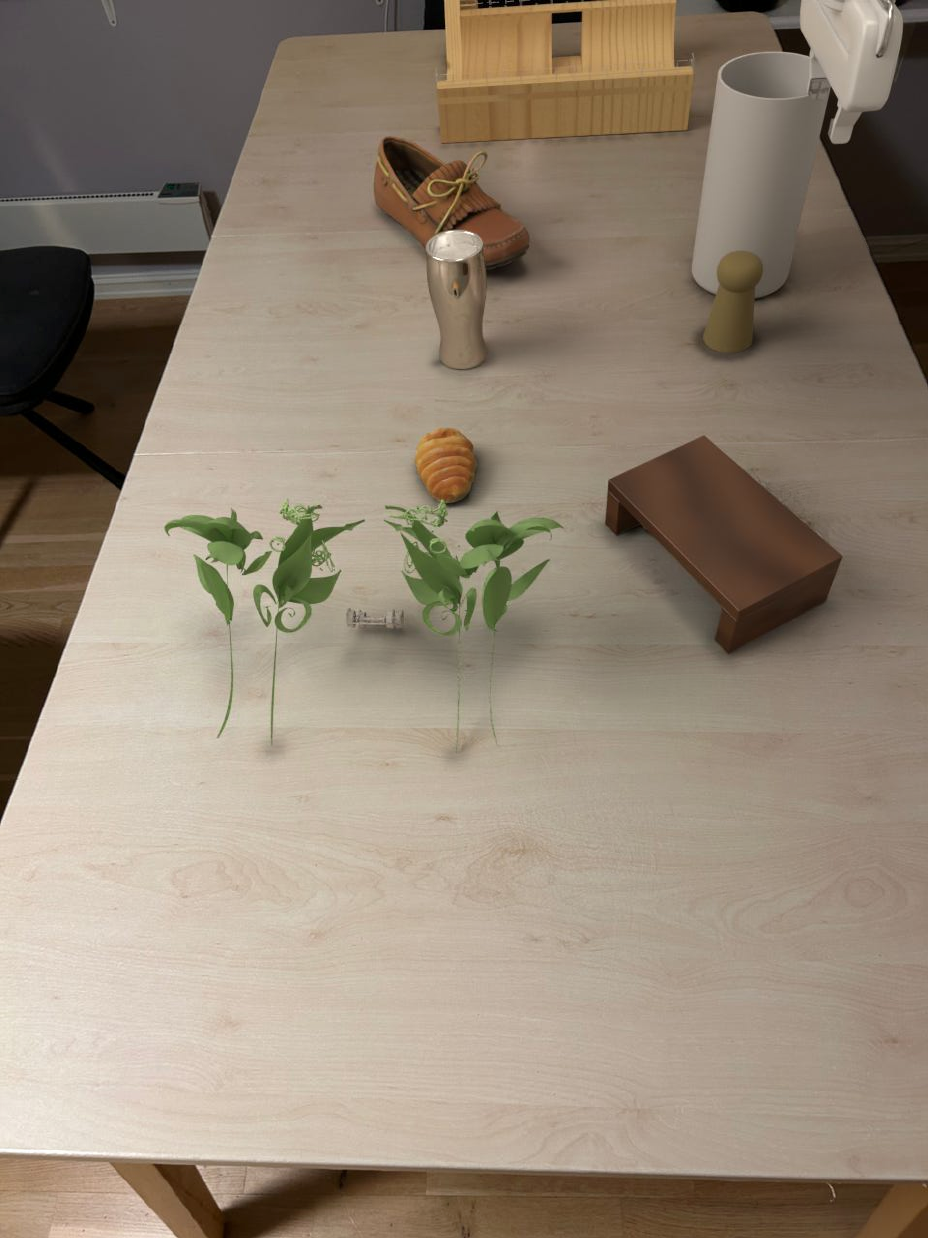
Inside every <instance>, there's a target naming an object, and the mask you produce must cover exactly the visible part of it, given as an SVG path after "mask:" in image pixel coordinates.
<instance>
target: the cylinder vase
mask: <svg viewBox="0 0 928 1238" xmlns="http://www.w3.org/2000/svg"><path fill="white" fill-rule="evenodd" d="M809 69H810V55H806V54H805V55H804V54H800V53H795V52H788V51H787V52H786V51H759V52H753V53H748V54H742V55H739V56H737V57H734V58H731V59H730V60H728V61H727V62H725V63H724V64H722V66H720V68H719V69H718V72H717V77H716V86H715V93H714V101H713V107H712V108H713V109H712V114H711V122H710V129H709V137H708V144H707V145H708V146H707V153H706V157H705V158H706V159H705V166H704V174H703V180H702V189H701V196H700V203H699V210H698V217H697V225H696V232H695V239H694V247H693V254H692V261H691V274H692V277H693V279H694V281H695V282H696V284H697V285H699V287H701V289H703V290H705V291H706V292H708V293H710V294H712V295H714V296H716V293H717V290H718V287H719V284H720V283H719V282H718V279H717V267H718V265H719V262H720V260H721V259H722V258H723V257H724V256H725V255H726V254H728V253H730V252H734V251H748V252H751V253H754V254H755V255H757V256H758V257H759V258H760V260H761V262H762V265H763V273H762V277H761V279H760V281H759V283H758V284H757V285H756V286H755V299H759V298H764V297H766V296H769V295H771V294H773V293H775V292H776V291H778V290H779V289H780V288H781V287H782V286H783V285H784V284H785V283H786V281H787V279H788V277H789V272H790V268H791V263H792V259H793V255H794V251H795V247H796V241H797V238H798V233H799V228H800V224H801V220H802V215H803V211H804V206H805V203H806V199H807V194H808V189H809V185H810V180H811V175H812V171H813V167H814V163H815V158H816V154H817V149H818V146H819V141H820V137H821V131H822V128H823V124H824V118H825V114H826V110H827V105H828V102H829V96H830V92H831V88H832V87H831V85H830V86H829V89H828V94H827V97H826V98H825V99H824V100H811V99H810V97H809V95H808V94H807V87H808V82H809V77H810V76H809Z"/></svg>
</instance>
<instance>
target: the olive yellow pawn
mask: <svg viewBox="0 0 928 1238" xmlns="http://www.w3.org/2000/svg"><path fill="white" fill-rule="evenodd" d="M762 273H763V265H762V262H761V260H760V258H759V257H758V256H757V255H755V254H754V253H751V252H748V251H734V252H730V253H728V254H726V255H725V256H724V257H723V258H722V259H721V260H720V262H719V265H718V267H717V279H718V282H719V283H720V284H719V287H718V290H717V293H716V295H714V296H715V297H714V300H713V303H712V306H711V310H710V313H709V315H708V318H707V322H706V326H705V328H704V331H703V335H702V341H703V342H704V345H706V347H708V348H710V349H711V350H713V351H716V352H718V353H724V354H736V353H740V352H743V351H746V350H747V349H748V348H749V347H750V346H751V345H752V343H753V340H754V339H753V337H754V321H755V319H754V318H755V299H756V298H755V286H756V285H757V284H758V283H759V281H760V279H761V277H762Z"/></svg>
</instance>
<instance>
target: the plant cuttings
mask: <svg viewBox="0 0 928 1238" xmlns="http://www.w3.org/2000/svg"><path fill="white" fill-rule="evenodd" d="M415 507H416V509H414V508H409V509H405V508H403V507H400V506H395V505H386V504H385V505H384V508H385V510H395V511H400V512H403V513H402V514H399V515H398V514H391V513H388V514H387V517H389V518H394V519H398V520H399V519H400V520H405V523H406V525H407V526H403V525H402V524H400V523H395V522H392V521H389V520H386V519H383V522H384V523H386V524H388V525H390V526H391V527H392V528H394V529H395V531H396V532H400V535H401V538H402V540H403V541H402V542H403V543H404V545H405V548H406V554H405V557H404V560H403V568H404V571H405V572H404V571H403V570H401V571H400V572H401V573H402V575H403V578H404V579H405V581H406V583H407V585H408V587H409V589H410V591H411V593H412V595H413V597H414V598H415V599H416V601H417V602H418V603H420V604H422V605H424V607H423V608H422V610H421V619H422V621H423V623H424V624H425V626H426V627H427V628H428V630H430V631H431V632H433V633H434V634H436V635H438V636H441V637H450V636H453V635H456V634H457V633H458V683H457V684H458V687H457V688H458V689H457V693H458V694H457V727H456V746H455V747H456V748H455V753H457V751H458V741H459V730H460V729H459V727H460V697H461V695H460V689H461V687H460V686H461V685H460V684H461V629H462V627H464V629H465V631H466V632H467V631H468V630H469V627H470V624H471V619H472V617H473V614H474V611H475V608H476V604H477V598H478V593H477V589H476V587H471V588H470V589H468V590H467V592H466V594H465V596H464V597H463V600H462V596H463V584H462V582H461V580H460V577H461V578H463V579H467V580H468V579H470V578H471V576H472V575H473V574H474V573H477V571H478V569H479V567H480V566H481V565H482V566H483V567H486V564H487V563H489V562H493V561H494V563H495V566H496V567H494V568H493V569H491V570H490V571H489V573H488V574H487V575H486V577H485V579H484V582H483V586H482V593H481V606H482V613H483V619H484V623H485V624H486V627H487V628H488V629H489V630H491V631H493V635H495V634H496V633H499V631H498V630H497V628H496V625H497V624H498V623H499V621H500V620H501V619H502V618H503V617H504V615H505V614H506V612H507V610H508V608H509V607H508V602H511V601H514V600H516V599H518V598H520V597H521V596H522V595H523V594H524V593H525V592H526V591H527V590H528V589H529V588H530V587H531V585H532V584H533V583H534V582H535V581H536V579H537V578H538V576H539V575H540V574H541V572H542V571H543V570H544V568H545V567H546V566H547V564H548V563H549V562H550V561H551V559H550V558H548V559H546V560H544V561H542V562H541V563H539V564H537V565H535V566H534V567H533V568H531V569H530V570H528V571H527V572H526V573H524V574H522V575H521V576H520V577H519V578H517V579H516V580H515V581H514V582H513V578H512V573H511V570H510V569H509V567H507V566H506V565H505V566H504V565H502V566H501V563H502V559H505V558H506V557H509V556H510V555H512V554H514V553H516V552H517V551H518V550H520V549H521V548H522V547H523V545H524V543H525V540H524V539H526V538H529V537H532V536H534V535H538V534H540V533H544V532H547V533H550V539H549V541H552V537H553V535H552V532H551V531H552V530H555V529H560V528H561V529H562V530H563V529H564V526H563V525H562V524H560V523H559V522H557V521H556V520H554V519H551V518H548V517H530V518H526V519H523V520H520V521H518V522H516V523H514V524H512V525H511V526H509V528H508V527H507V526H506V525H505V524H504V523H503V522H502V521H501V518H500V515H499V510H496V511H495V512H493V513H492V514H491V515H490V518H486V519H481V520H479V521H477V522H476V523H475V524H473V525H472V526H471V527H469V529H468V530H467V531H466V533H465V534H464V535H465V536H464V537H465V540H466V542H467V543H468V545H469V546H470V547H472V549H470V550H468V551H466V552H465V553H464V554H463V555H462V556H461V557H460V560H459V558H458V556H457V554H455V557H453V556H452V554H451V552H450V550H449V548H448V546H447V543H446V542H445V540H443V539H440V538H439V537H438V536H436V535H435V534H434V529H432V530H431V531H430V530H429V529H428V527H426V526H425V525H429V526H430V525H431V526H432V527H434V528H440V527H442V526H443V525H445V522H446V523H448V519H447V518H446V517H447V516H449V512H448V509H447V505H446V503H444V500H443V499H442V500H441V503H439V504H438V507H437V508H435V509H432V508H431V506H429V505H427V504H424V505H422V506H421V507H419V506H418V505H416V506H415ZM426 508H427V509H428V510H427V509H426ZM321 509H323V507H322V505H321V504H315V505H312V506H310V504H309V505H307V507H305V506H304V505H302V504H300V503H299V504H296V505H294V507H292V508H291V507H290V505H289V498H286V499H285V502H284V503H283V504H282V507H281V509H280V510H279V514H280V515H281V518H282V520H283V519H284V520H285V521H290V523H291V524H293V525H295V526H296V528H295V529H293V531H292V533H291V535H290V536H289V537H288V538H287V540H286V539H285V537H283V536H275V537H272V538H271V539H270V540H269V547H270V549H271V550H268V551H265V552H264V554H262V555H260V556H258V557H257V558H255V559H254V560H253V561H252V562H251V563H250V565H249V566H248V567H247V569H246V568H245V565H246V562H247V561H246V560H247V555H246V551H245V550H246V549H248V547H249V546H250V544H251V543H252V540H260V541H261V540H262V541H263V540H264V538H263V536H262V534H261V532H260V531H258V530H255V531H252V532H250V531H248V530H247V529H246V527H244V526H243V525H242V524H241V523H240V522H239V521H238V515H237V512H236V510H234V509H233V508H232V507H230V510H231V513H230V517H229V516H228V517H227V516H220V517H216V518H213V517H211V516H208V515H201V514H190V515H186V516H183V517H181V518H177V519H172V520H170V521H168V522H167V523H166V524H165V525H164V531H165V533H166V534H167V536H168V537H171V534H169V531H170V530H171V529H176V528H180V529H183V530H185V531H188V532H190V533H192V534H194V535H197V536H199V537H201V538H203V539H205V540H208V541H209V542H208V543H207V546H206V547H207V551H208V553H209V554H208V555H207V556H206V557H205V560H204V559H202V558H201V557H200V556H198V555H197V554H193V557H194V559H195V563H196V564H195V565H196V570H197V575H198V579H199V581H200V584H201V587H202V588H203V589H204V590H205V592H206V593H208V594H210V595H211V596H212V598H213V600H214V601H215V605H216V607H217V609H218V610H219V611H220V612H221V613H222V614H223V616H224V619H225V622H226V627H229V630H231V621H232V622H233V615H234V607H235V600H234V596H233V594H232V592H231V589H230V587H229V579H228V577H229V573H228V572H229V566H236V569H237V570H240V573H241V576H247V575H249V574H254V573H257V572H259V570H261V569H263V567H264V566H265V564H266V562H267V561H268V560H269V558H270V557H271V555H272V553H273V551H274V552H277V553H280V554H279V558H278V563H277V568H276V569H275V571H274V572H273V575H272V580H271V581H272V582H271V585H272V588H273V590H274V593H275V595H276V597H277V600H276V598H275V596H274V594H273V592H272V591H271V590H270V589H269V588H268V586H266V585H263V584H260V583H259V584H256V585H255V586H254V587H253V591H252V596H253V602H254V605H255V607H256V610H257V612H258V614H259V616H260V618H261V621H262V623H263V624H264V626H265V627H266V628H268V627H269V626H270V624H271V623H272V613H271V611H270V609H269V608H270V606H269V605H268V606H264V609H266V616H267V619H266V618H265V617H264V615H263V612H262V608H261V598H262V595H263V594H264V593H265V594H267V595H268V596H269V597H270V598H271V599H272V601H273V603H274V604H275V605H278V606H277V613H276V615H275V616H274V625H275V627H276V629H277V630H275V631H276V632H275V648H274V658H273V672H272V687H271V704H270V705H271V706H270V745H273V733H274V731H273V730H274V729H273V728H274V705H275V704H274V703H275V685H276V683H275V682H276V679H275V678H276V665H277V664H276V663H277V661H276V660H277V647H278V645H277V643H278V630H279V631H280V632H282V633H286V634H292V633H295V632H297V631H299V630H300V629H302V628H304V626H305V625H306V624H307V623H308V622H309V620H310V618H311V617H312V612H313V608H312V606H311V605H317V604H321V603H323V602H325V601H326V600H328V599H329V597H330V596H331V595H332V592H333V590H334V588H335V586H336V584H337V581H338V579H339V577H340V575H341V573H342V569H338V570H339V571H338V572H336V573H335V574H333V575H330V576H329V575H328V576H324V577H311V576H312V572H313V567H315V568H316V567H317V568H318V567H320V566H322V565H323V564H324V563H326V566H327V568H328V570H329V572H330V573H333V572H335V571H336V569H335V567H336V566H335V564H334V562H333V560H332V558H331V556H332V552H330V551H329V550H328V548H327V545H326V543H328V542H329V541H330V540H332V539H333V538H335V537H336V536H338V535H339V534H341V533H343V532H345V531H353V530H354V528H356V527H357V526H358V525H360V524H362V523H364V522H366V519H364V518H363V519H361V520H358V521H355V522H351V523H345V524H344V525H343V526H325V527H321V528H317V529H314V522H316V521H318V520H319V518H320V513H316V512H314V511H316V510H321ZM411 512H413V514H412V513H411ZM301 513H304V514H301ZM418 514H424V515H423V516H422V517H421V518H418V517H417V516H416V515H418ZM427 514H430V515H434V516H435V517H434V518H433V520H430V522H428V521H427V520H429V518H428V517H427ZM312 519H313V520H312ZM409 522H410V523H409ZM435 522H436V523H435ZM424 524H425V525H424ZM410 526H411V527H410ZM402 532H405V533H406V534H408V535H409V536H411V537H412V538H414V539H415V540H417V541H418V542H419V543H421V545H422V546H423V548H424V549H425V550H426V551H423V550H421V549H420V547H419V545H418V544H419V543H418V542H417V541H413V542H411V541H410V540H409V539H408V538H407V537H406V536H405V535H404V534H403V533H402ZM275 541H276V542H277V543H276V545H277V546H279V545H280V543H282V545H283V546H282V548H281V549H276V548H275V547H274V546H273V543H274V542H275ZM320 547H322V550H320V549H318V548H320ZM460 547H461V545H460V544H458V545H457V548H460ZM319 553H320V554H319ZM409 557H410V560H411V561H410V563H409V561H408V560H409ZM209 559H212V560H211V561H210V564H209V563H207V562H206V561H207V560H209ZM328 560H329V561H328ZM217 562H219V563H221V564H225V565H226V581H225V580H224V579H223V576H222V575H221V573H220V571H218V570H217V568H215V567H214V566H213V565H211V564H213V563H217ZM329 562H330V565H329ZM316 563H317V564H316ZM406 565H407V568H408V570H407V568H406ZM412 566H414V568H413V570H412V571H410V570H409V569H411V567H412ZM330 567H331V568H330ZM319 570H320V571H321V572H323V571H324V570H323V569H322V568H321V567H320V568H319ZM415 570H416V572H417V574H418V575H419V576H420V578H418V577H417V578H416V577H412V576H409V575H408V574H412V573H414V572H415ZM512 582H513V583H512ZM465 599H466V609H464V611H465V612H466V613H465V615H464V620H463V621H462V617H461V607H462V605H463V603H464V601H465ZM461 601H462V602H461ZM288 603H294V604H297V605H298V604H299V605H302V606H303V607H304V610H305V613H304V616H303V619H302V620H301V622H300V623H299V624H298V625H297V626H296V627H294V628H287V627H286V626H285V624H284V623H283V620H282V616H283V614H284V612H285V611H286V610H288V607H285V605H287V604H288ZM450 605H452V608H449V607H448V606H450ZM283 607H284V608H283ZM438 607H445V608H446V609H448V611H449V612H450V613H451V614H452V615H453V616H454V620H455V621H454V625H453V627H452V628H451V629H449V630H447V631H444V632H443V631H439V630H437V629H436V628H435V626H434V625H433V623H432V621H431V616H430V615H431V612H432V610H433V609H434V608H438ZM281 608H282V609H281ZM279 609H281V610H279ZM289 609H290V610H292V611H293V615H292V614H291V613H290V612H288V613H287V614H288V615H289V616H290V618H293V617H294V616H296V611H295V610H294V609H293V608H292V607H289ZM357 611H358V612H357ZM357 611H356V610H352V609H351V608H347V609H346V614H345V622H344V624H346V626H347V628H355V627H356V625H357V627H358V628H366V627H367V626H386V628H389V629H395V628H396V629H403V628H404V623H405V619H404V618H405V614H404V613H405V612H404V610H400V611H395V608H393V609H391V610H387V612H386V615H382V617H371V616H370V615H367V612H366V611H362V609H358V610H357ZM457 611H458V613H457ZM446 612H447V610H444V611H443V612H442V613H441V615H440V618H441V619H442V621H445V620H446V619H447V617H448V616H444V618H443V614H444V613H446ZM495 632H496V633H495ZM494 646H495V637H493V640H492V649H494ZM229 647H230V648H229V649H230V690H229V691H230V693H229V699H228V703H227V704H228V705H227V709H226V713H225V717H224V720H223V722H222V725H221V727H220V730H219V732H218V734H217V736H216V739H219V738H220V736H221V735H222V733H223V731H224V729H225V727H226V724H227V722H228V719H229V717H230V713H231V709H232V703H233V693H234V692H233V691H234V665H233V649H232V648H233V647H232V632H231V631H229ZM491 651H492V653H491V662H490V663H491V664H490V678H489V714H490V715H489V716H490V723H491V729H492V733H493V734H492V735H493V737H494V740H495V743H496V747H497V748H499V744H498V741H497V737H496V732H495V727H494V719H493V712H492V698H491V697H492V696H491V694H492V693H491V691H492V676H493V675H492V673H493V659H494V650H491Z"/></svg>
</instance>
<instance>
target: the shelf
mask: <svg viewBox="0 0 928 1238" xmlns="http://www.w3.org/2000/svg"><path fill="white" fill-rule="evenodd" d="M606 493H607V494H606V509H605V521H604V525H605V526H606V527H607V528H608V529H609V531H610V532H612V533H613V535H614V536H619V535H620V534H623V533H624V532H627V531H628V530H631V529H633V528H635V527H637V526H639V525H641V526H642V527H643V528H644V529H645V530H646V531H647V532H648V533H649V534H650V536H652V537H653V538H654V539H655V540H656V541H657V542H658V543H659V544H660V545H661V546H662V547H663V548H664V549H665V550H666V551H667V553H668V554H670V555H671V556H672V557H673V558H674V559H675V560H676V561H677V562H678V563H679V564H680V565H681V566H682V568H683V569H685V571H686V572H687V573H688V574H689V575H690V576H691V577H692V578H694V580H695V581H696V582H697V583H698V584H699V585H700V586H701V587H702V588H703V589H704V590H705V591H706V592H707V593H708V594H709V595H710V596H711V597H712V598H713V599H714V600H715V601H716V602H717V603H718V604H719V605H720V606H721V607H722V608H721V610H720V611H721V612H720V615H719V621H718V624H717V628H716V632H715V636H714V641H715V642H716V643H717V644H718V646H719V647H721V648H722V650H723V651H724V652H725V653H726V654H727V655H730V654H731V653H733V652H735V651H737V650H738V649H741V648H742V647H744V646H746V645H748V644H749V643H751V642H753V641H755V640H757V639H759V638H761V637H762V636H764V635H766V634H767V633H768V634H769V632H772V631H773V630H775V629H777V628H779V627H781V626H783V625H785V624H786V623H788V622H791V621H792V620H793V619H795V618H798V617H799V616H801V615H803V614H805V613H807V612H808V611H810V610H812V609H814V608H815V607H817V606H819V605H822V604H823V603H824V602H826V601H827V600H828V597H829V595H830V592H831V590H832V587H833V584H834V581H835V579H836V577H837V573H838V571H839V568H840V565H841V562H842V560H843V557H844V556H843V554H841V553H840V552H839V551H838V550H837V549H836V548H834V547H833V546H832V545H831V544H830V543H829V542H828V541H827V540H825V539H824V538H823V537H822V536H821V535H820V534H818V532H816V531H815V530H814V529H813V528H811V527H810V526H809V525H808V524H807V523H806V522H805V521H803V520H802V519H801V517H799V516H798V515H796V514H795V513H794V512H793V511H792V510H791V509H790V508H789V507H788V506H787V505H785V504H784V503H783V502H781V501H780V500H779V498H777V497H776V496H774V495H773V494H772V493H771V492H770V491H769V490H768V489H767V488H765V486H763V485H762V484H761V483H760V482H759V481H757V480H756V479H755V478H754V477H753V476H752V475H750V473H748V472H747V471H746V470H745V469H744V468H742V466H740V464H738V463H737V462H736V461H734V460H733V458H731V457H730V456H729V455H728V454H727V453H726V452H724V451H723V450H722V449H721V448H720V447H718V446H717V445H716V444H715V443H714V442H713V441H712V440H710V439H709V437H707V436H706V435H701V436H699V437H697V438H695V439H693V440H691V441H688V442H687V443H684V444H683V445H679V446H678V447H675V448H674V449H672V450H669V451H666V452H665V453H663V454H660V455H659V456H656V457H654V458H652V459H650V460H648V461H646V462H643V463H641V464H639V465H637V466H634V467H632V468H630V469H628V470H625V471H624V472H621V473H619V474H618V475H615V476H613V477H611V478H608V480H607V492H606Z"/></svg>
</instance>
